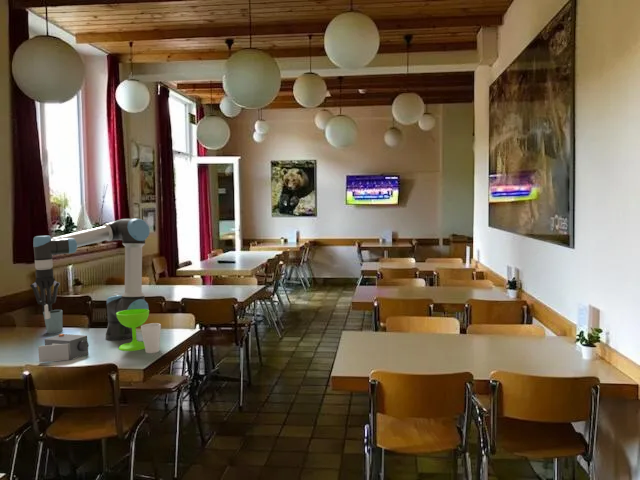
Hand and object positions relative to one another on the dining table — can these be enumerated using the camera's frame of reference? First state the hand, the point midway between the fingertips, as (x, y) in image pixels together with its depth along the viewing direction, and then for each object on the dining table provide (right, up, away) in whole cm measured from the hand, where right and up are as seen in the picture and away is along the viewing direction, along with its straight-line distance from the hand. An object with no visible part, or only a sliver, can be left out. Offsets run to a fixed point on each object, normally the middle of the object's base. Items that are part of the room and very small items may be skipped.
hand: (47, 318), depth 275 cm
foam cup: (+46, -18, +10) cm, 51 cm away
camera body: (+6, -19, +8) cm, 22 cm away
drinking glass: (-27, -17, +66) cm, 74 cm away
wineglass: (+35, -17, +21) cm, 44 cm away
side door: (+4, -20, -2) cm, 20 cm away
